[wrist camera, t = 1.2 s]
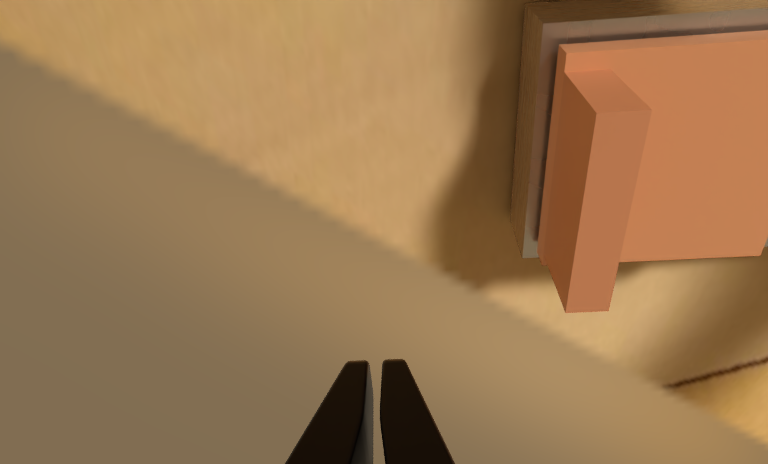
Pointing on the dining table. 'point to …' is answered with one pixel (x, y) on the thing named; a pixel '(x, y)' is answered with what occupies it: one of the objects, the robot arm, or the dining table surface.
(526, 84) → the grey rectangular box
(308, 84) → the dining table surface
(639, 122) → the salmon l-shaped block
